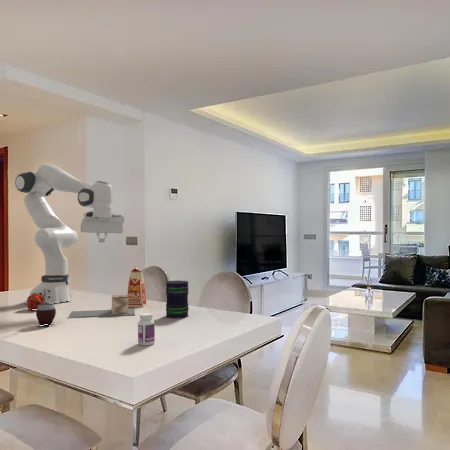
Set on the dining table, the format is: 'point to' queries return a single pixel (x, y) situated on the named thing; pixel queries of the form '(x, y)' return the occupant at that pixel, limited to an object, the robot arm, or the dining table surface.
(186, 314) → the navy striped can
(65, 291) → the robot arm
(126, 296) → the block
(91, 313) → the mat
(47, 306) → the mate gourd
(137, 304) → the milk carton
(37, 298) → the dragon fruit
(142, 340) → the pill bottle
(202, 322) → the dining table surface
